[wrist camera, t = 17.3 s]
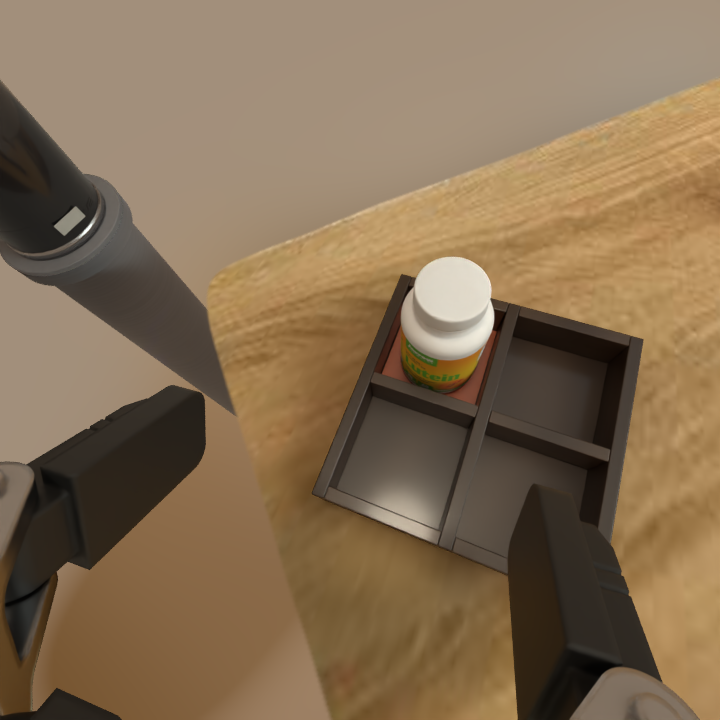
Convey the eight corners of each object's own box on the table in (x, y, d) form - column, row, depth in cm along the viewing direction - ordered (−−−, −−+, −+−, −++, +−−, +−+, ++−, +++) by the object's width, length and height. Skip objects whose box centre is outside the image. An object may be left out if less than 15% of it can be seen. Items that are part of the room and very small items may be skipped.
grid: (321, 498, 28) (311, 493, 25) (401, 299, 34) (401, 273, 30) (573, 602, 25) (600, 613, 21) (617, 360, 30) (644, 339, 27)
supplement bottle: (392, 384, 30) (388, 321, 21) (410, 320, 32) (413, 237, 23) (467, 403, 29) (496, 345, 20) (481, 336, 31) (513, 255, 22)
